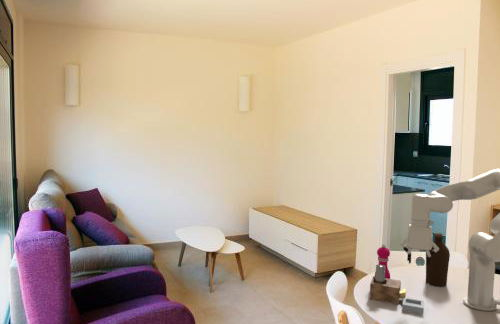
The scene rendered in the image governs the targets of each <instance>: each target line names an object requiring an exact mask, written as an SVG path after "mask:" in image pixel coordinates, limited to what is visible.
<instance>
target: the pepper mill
mask: <svg viewBox="0 0 500 324" xmlns="http://www.w3.org/2000/svg"><path fill="white" fill-rule="evenodd" d="M386 246H387V245H386V244H385V243H384V244H382V245H381V247H379V248H378V249H377V250H376V254H377V261H378V265H384V266H385V278H388V279H391V273H390V270H389V268H388V262H389V261H390V260H389V257H390V256H391V251H390V249H389V248H387V247H386ZM374 276H375V277H376V271H375V273H374Z"/></svg>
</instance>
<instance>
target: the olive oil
mask: <svg viewBox="0 0 500 324" xmlns="http://www.w3.org/2000/svg"><path fill="white" fill-rule="evenodd" d="M433 242H434V243H435V245H436V246H437V247H438V248H439V250H438V251H437V252H436V253H434V254H433V255H432V256H431V257H430V264H428V266H426V265H425V283H426V284H427V285H428V286H433V287H438V288H444V287H446V286H447V283H448V276H449V275H448V273H449V267H450V266H449V265H450V264H449V263H450V257H451V256H450V255H451V253H450V250H449V248H448V246H446V245H445V243H444V242H443V233H442V232H435V234H434V241H433ZM434 249H435V248H434V247H433V246H432V249H431V250H430V252H431V251H432V250H434ZM426 256H427V253H426V252H425V257H426Z"/></svg>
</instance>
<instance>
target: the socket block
mask: <svg viewBox="0 0 500 324" xmlns="http://www.w3.org/2000/svg"><path fill="white" fill-rule="evenodd" d="M375 278H376V277H375V275H374V276H373V277H372V279H371V280H370V283H369V284H370V285H369V300H374V301H379V302H385V303H389V304H390V303H391V304H397V305H399V302H400V299H401V298H399V292H400V291H401V287H402V285H401V284H402V283H401V280H400V279H393V278H390V279H388V278H385V284H381V283H375Z"/></svg>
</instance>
